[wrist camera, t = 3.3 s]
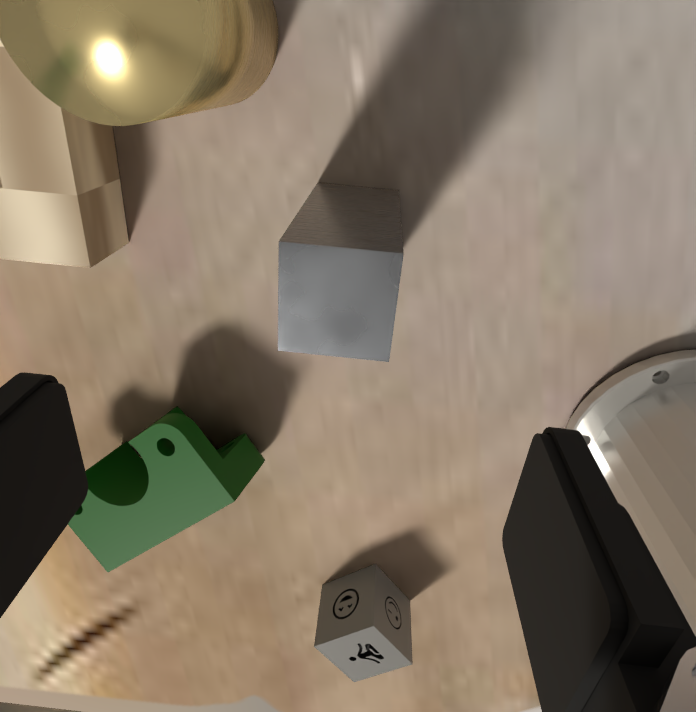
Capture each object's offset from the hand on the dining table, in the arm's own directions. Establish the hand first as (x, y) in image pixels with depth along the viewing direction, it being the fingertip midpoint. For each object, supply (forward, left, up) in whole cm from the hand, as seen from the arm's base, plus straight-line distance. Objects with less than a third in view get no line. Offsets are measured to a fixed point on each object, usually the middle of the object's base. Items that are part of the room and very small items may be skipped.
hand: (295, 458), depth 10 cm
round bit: (+7, -8, -18) cm, 21 cm away
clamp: (+11, +16, -18) cm, 27 cm away
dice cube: (-3, +29, -18) cm, 34 cm away
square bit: (0, 0, -18) cm, 18 cm away
